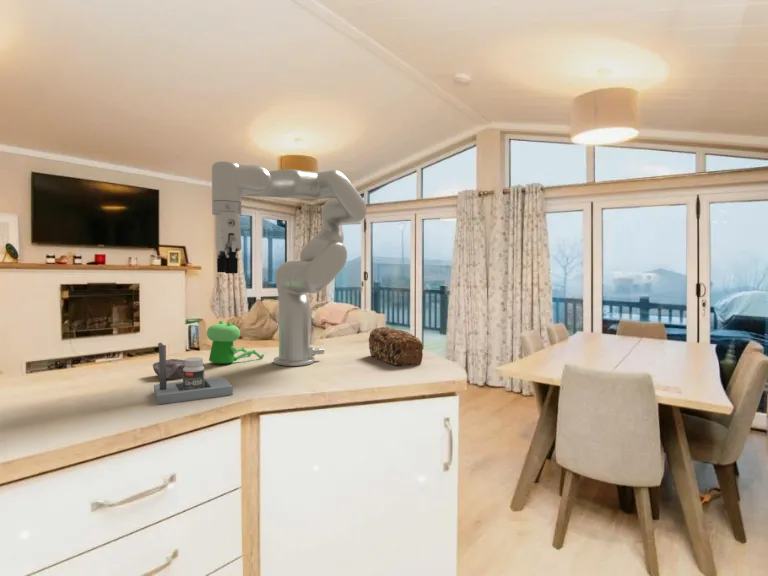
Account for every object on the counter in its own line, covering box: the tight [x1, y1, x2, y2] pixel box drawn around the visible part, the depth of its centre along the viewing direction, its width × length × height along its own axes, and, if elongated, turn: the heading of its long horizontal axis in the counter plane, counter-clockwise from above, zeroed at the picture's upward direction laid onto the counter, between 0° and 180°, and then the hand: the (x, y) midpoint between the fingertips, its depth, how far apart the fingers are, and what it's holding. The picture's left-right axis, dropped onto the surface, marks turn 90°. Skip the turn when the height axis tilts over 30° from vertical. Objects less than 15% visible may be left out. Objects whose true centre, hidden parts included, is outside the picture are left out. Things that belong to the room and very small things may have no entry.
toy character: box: [206, 320, 265, 365], centre depth 147 cm, size 10×18×13 cm, turn 141°
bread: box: [368, 326, 424, 366], centre depth 152 cm, size 19×11×10 cm, turn 28°
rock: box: [152, 358, 186, 380], centre depth 128 cm, size 8×11×5 cm
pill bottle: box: [182, 356, 205, 391], centre depth 111 cm, size 5×5×8 cm
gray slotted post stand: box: [153, 342, 234, 405], centre depth 111 cm, size 16×10×12 cm, turn 121°
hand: (227, 272), depth 127 cm, fingers open, 9 cm apart
